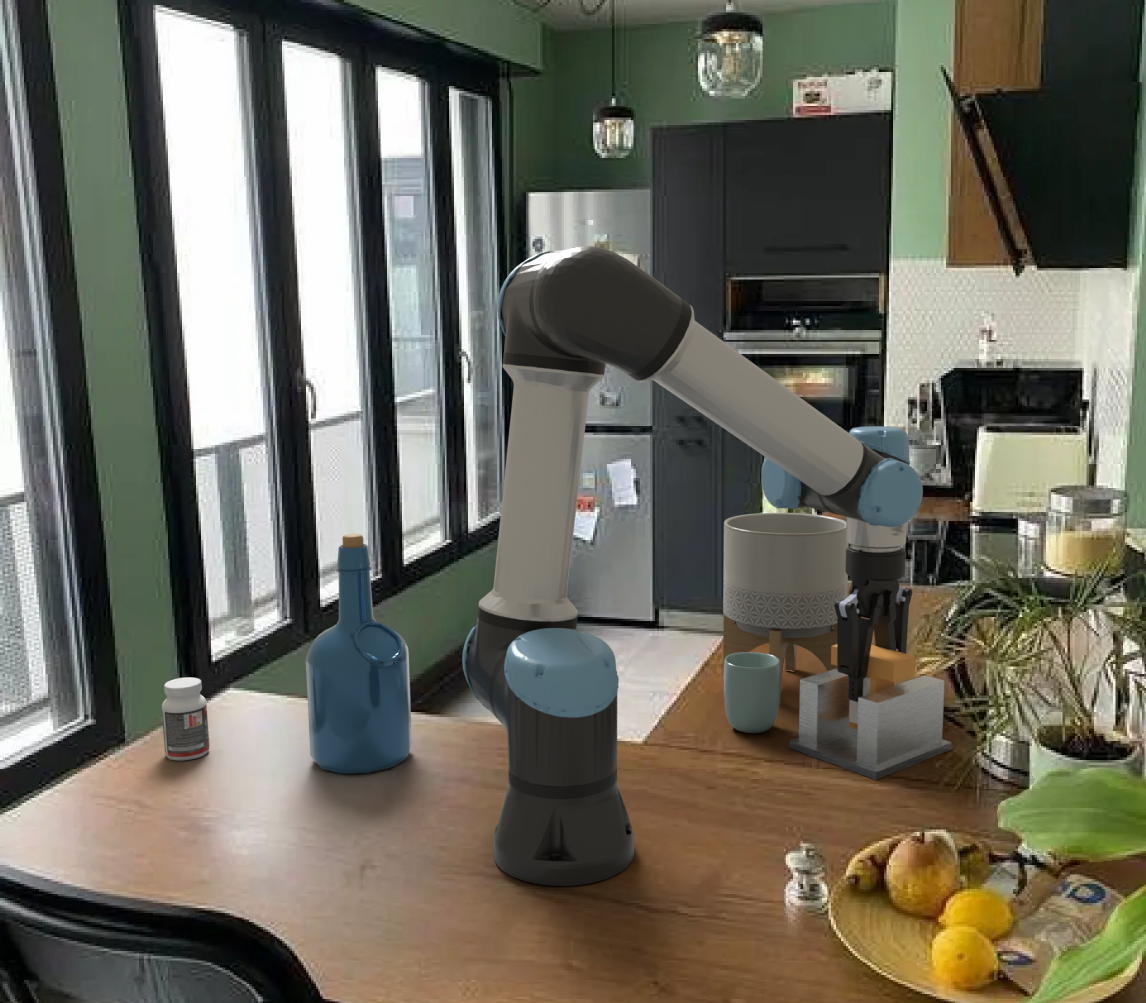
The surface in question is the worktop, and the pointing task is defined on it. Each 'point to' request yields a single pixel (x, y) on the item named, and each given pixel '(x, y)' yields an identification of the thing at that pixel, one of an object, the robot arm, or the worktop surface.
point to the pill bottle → (185, 720)
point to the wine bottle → (358, 679)
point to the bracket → (871, 724)
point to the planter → (783, 584)
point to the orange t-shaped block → (883, 668)
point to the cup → (751, 691)
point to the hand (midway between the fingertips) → (870, 719)
